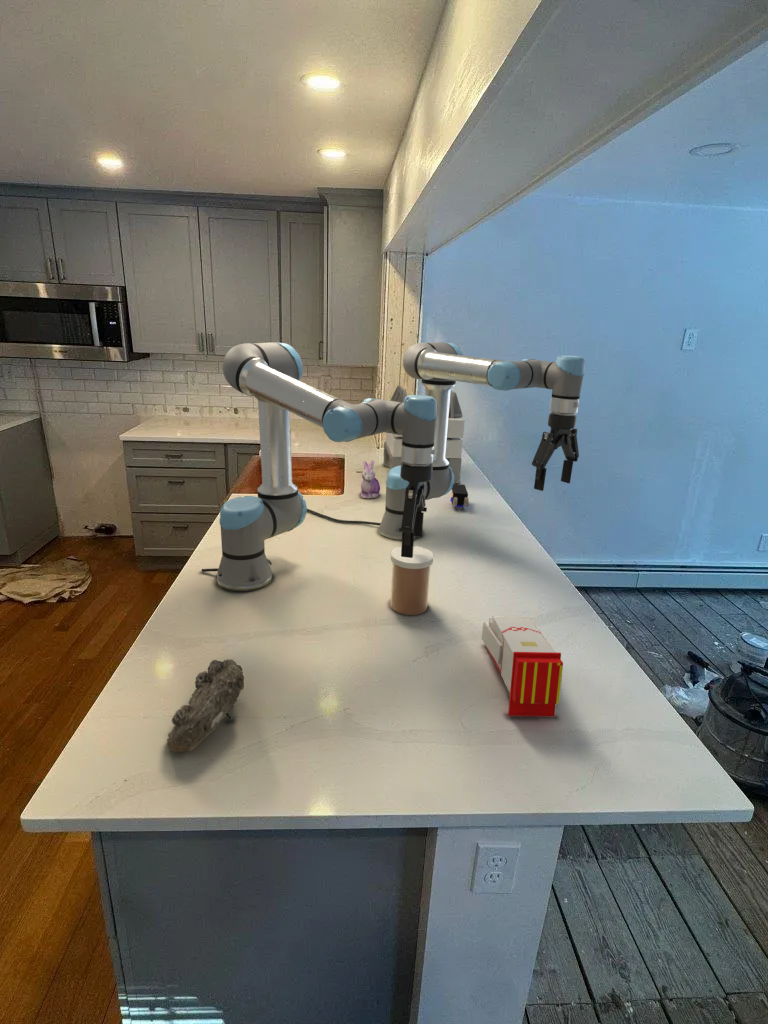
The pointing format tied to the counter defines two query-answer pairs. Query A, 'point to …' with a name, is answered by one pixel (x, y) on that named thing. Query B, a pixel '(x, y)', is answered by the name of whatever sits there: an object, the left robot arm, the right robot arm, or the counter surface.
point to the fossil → (206, 705)
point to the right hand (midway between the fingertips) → (552, 485)
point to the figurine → (369, 482)
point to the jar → (409, 590)
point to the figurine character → (459, 496)
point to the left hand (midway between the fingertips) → (412, 546)
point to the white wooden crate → (452, 444)
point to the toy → (525, 665)
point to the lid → (419, 560)
